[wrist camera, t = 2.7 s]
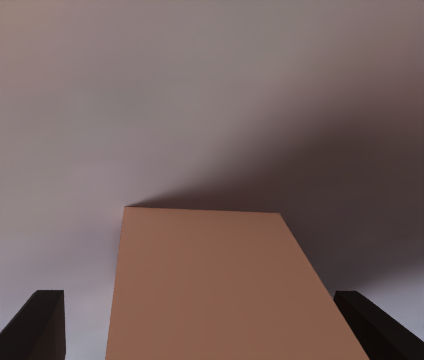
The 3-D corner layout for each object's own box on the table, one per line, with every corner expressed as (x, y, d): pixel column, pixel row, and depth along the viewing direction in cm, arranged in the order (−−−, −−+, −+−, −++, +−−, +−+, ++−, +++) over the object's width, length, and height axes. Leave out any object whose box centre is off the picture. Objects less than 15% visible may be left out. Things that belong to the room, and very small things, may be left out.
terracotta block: (253, 327, 13) (324, 547, 8) (119, 329, 13) (97, 576, 7) (279, 212, 12) (391, 394, 6) (124, 206, 11) (98, 410, 5)
